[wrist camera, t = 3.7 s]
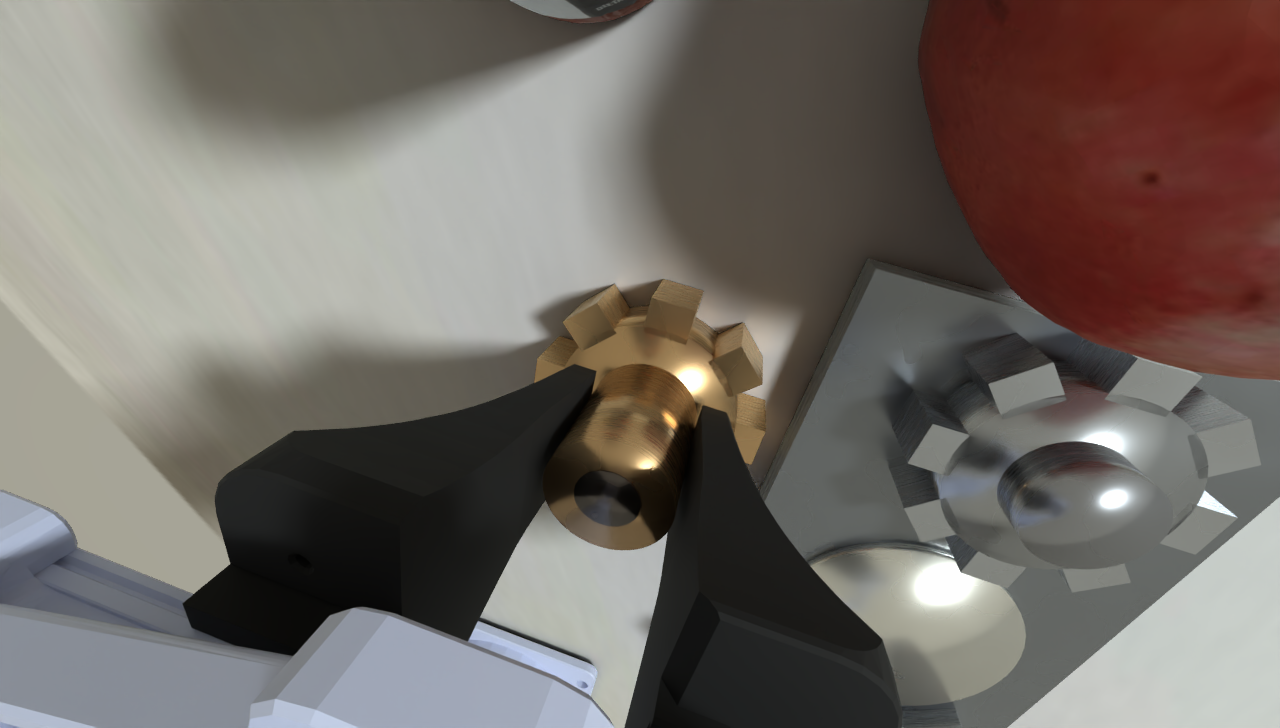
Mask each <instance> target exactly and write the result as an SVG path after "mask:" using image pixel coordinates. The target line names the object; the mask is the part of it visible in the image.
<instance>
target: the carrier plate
mask: <svg viewBox="0 0 1280 728" xmlns="http://www.w3.org/2000/svg"><path fill="white" fill-rule="evenodd" d="M1015 333H1018V334H1019V335H1020V336H1022V337H1023V338H1024V339H1025V340H1027V341H1028V342H1029V343H1030V344H1032V345H1033V346H1034V347H1035V348H1037V349H1038V350H1039V351H1040V352H1041V353H1043V354H1044V355H1045V356H1046V357H1048V358H1049V359H1050V360H1066V358H1067V357H1068V356H1069V354H1070V353H1071V352H1072V350H1073V349H1074V348H1075V346H1076V345H1077V344H1078V342H1079V341H1080V340H1081V338H1082V337H1080V336H1079V335H1077V334H1075V333H1074V332H1072V331H1070V330H1068V329H1066V328H1064V327H1062V326H1060V325H1058V324H1055V323H1054V322H1052V321H1051V320H1049V319H1048V318H1046V317H1045V316H1044V315H1042V314H1041V313H1039V312H1038V311H1036V310H1035V309H1034V308H1032V307H1031V306H1029V305H1028V304H1027V303H1026V302H1024V301H1020V300H1017V299H1013V298H1009V297H1006V296H1002V295H999V294H995V293H991V292H988V291H984V290H981V289H977V288H973V287H970V286H966V285H963V284H959V283H955V282H952V281H948V280H945V279H941V278H938V277H934V276H930V275H927V274H923V273H920V272H916V271H912V270H909V269H905V268H902V267H898V266H894V265H891V264H887V263H884V262H880V261H876V260H873V259H869V258H867V260H866V262H865V264H864V266H863V269H862V271H861V273H860V275H859V277H858V279H857V281H856V284H855V286H854V288H853V290H852V292H851V294H850V297H849V299H848V301H847V303H846V305H845V307H844V310H843V312H842V314H841V316H840V318H839V320H838V322H837V325H836V327H835V329H834V331H833V333H832V335H831V338H830V340H829V342H828V344H827V346H826V348H825V350H824V353H823V355H822V357H821V359H820V361H819V363H818V366H817V368H816V370H815V372H814V374H813V376H812V378H811V381H810V383H809V385H808V387H807V389H806V391H805V394H804V396H803V398H802V400H801V402H800V404H799V406H798V409H797V411H796V413H795V415H794V417H793V419H792V422H791V424H790V426H789V428H788V430H787V432H786V434H785V437H784V439H783V441H782V443H781V445H780V447H779V450H778V452H777V454H776V456H775V458H774V460H773V462H772V465H771V467H770V469H769V471H768V473H767V475H766V478H765V480H764V482H763V484H762V486H761V488H760V490H759V493H760V495H761V497H762V499H763V501H764V503H765V504H766V506H767V508H768V509H769V511H770V512H771V514H772V515H773V517H774V519H775V520H776V522H777V523H778V525H779V526H780V528H781V529H782V530H783V532H784V533H785V535H786V536H787V537H788V539H789V540H790V541H791V543H792V544H793V545H794V546H795V548H796V549H797V550H798V552H799V553H800V554H801V555H802V557H803V558H804V559H805V560H806V562H807V563H808V564H809V565H810V566H811V567H812V569H813V570H814V571H815V572H816V573H817V574H818V576H819V577H820V578H821V579H822V580H823V581H824V582H825V583H826V584H827V585H828V586H829V587H830V589H831V590H832V591H833V592H834V593H835V594H836V595H837V596H838V597H839V598H840V599H841V600H842V601H843V602H844V603H845V604H846V605H847V606H848V607H849V608H850V609H851V610H852V611H853V612H854V613H856V614H857V615H858V616H859V617H860V618H861V619H862V620H863V621H864V622H865V623H866V624H867V625H868V626H869V627H870V628H871V629H872V630H873V631H875V632H876V633H877V634H878V635H879V636H880V637H881V638H882V640H883V642H884V646H885V649H886V652H887V655H888V658H889V661H890V664H891V666H892V670H893V674H894V677H895V681H896V685H897V689H898V694H899V698H900V702H901V706H902V710H921V709H944V708H955V710H956V712H957V715H958V717H959V720H960V722H961V725H962V728H1007V727H1008V726H1009V725H1011V724H1012V723H1013V722H1014V721H1015V720H1017V719H1018V718H1019V717H1020V716H1021V715H1022V714H1024V713H1025V712H1026V711H1027V710H1028V709H1030V708H1031V707H1032V706H1033V705H1034V704H1035V703H1037V702H1038V701H1039V700H1040V699H1041V698H1043V697H1044V696H1045V695H1046V694H1047V693H1048V692H1050V691H1051V690H1052V689H1053V688H1054V687H1056V686H1057V685H1058V684H1059V683H1060V682H1061V681H1063V680H1064V679H1065V678H1066V677H1067V676H1069V675H1070V674H1071V673H1072V672H1073V671H1074V670H1076V669H1077V668H1078V667H1079V666H1080V665H1081V664H1083V663H1084V662H1085V661H1086V660H1087V659H1089V658H1090V657H1091V656H1092V655H1093V654H1094V653H1096V652H1097V651H1098V650H1099V649H1100V648H1102V647H1103V646H1104V645H1105V644H1106V643H1107V642H1109V641H1110V640H1111V639H1112V638H1113V637H1115V636H1116V635H1117V634H1118V633H1119V632H1120V631H1122V630H1123V629H1124V628H1125V627H1126V626H1128V625H1129V624H1130V623H1131V622H1132V621H1133V620H1135V619H1136V618H1137V617H1138V616H1139V615H1140V614H1142V613H1143V612H1144V611H1145V610H1146V609H1148V608H1149V607H1150V606H1151V605H1152V604H1153V603H1155V602H1156V601H1157V600H1158V599H1159V598H1161V597H1162V596H1163V595H1164V594H1165V593H1166V592H1168V591H1169V590H1170V589H1171V588H1172V587H1174V586H1175V585H1176V584H1177V583H1178V582H1179V581H1181V580H1182V579H1183V578H1184V577H1185V576H1187V575H1188V574H1189V573H1190V572H1191V571H1192V570H1194V569H1195V568H1196V567H1197V566H1198V565H1200V564H1201V563H1202V562H1203V561H1204V560H1205V559H1207V558H1208V557H1209V556H1210V555H1211V554H1212V553H1214V552H1215V551H1216V550H1217V549H1218V548H1220V547H1221V546H1222V545H1223V544H1224V543H1225V542H1227V541H1228V540H1229V539H1230V538H1231V537H1233V536H1234V535H1235V534H1236V533H1237V532H1238V531H1240V530H1241V529H1242V528H1243V527H1244V526H1246V525H1247V524H1248V523H1249V522H1250V521H1251V520H1253V519H1254V518H1255V517H1256V516H1257V515H1259V514H1260V513H1261V512H1262V511H1263V510H1264V509H1266V508H1267V507H1268V506H1269V505H1270V504H1271V503H1273V502H1274V501H1275V500H1276V499H1277V498H1279V497H1280V380H1265V379H1247V378H1236V377H1229V376H1222V375H1215V374H1207V373H1200V372H1195V373H1196V374H1198V375H1200V376H1202V378H1201V379H1200V380H1199V381H1198V382H1197V383H1196V385H1195V386H1196V387H1198V388H1199V389H1201V390H1203V391H1204V392H1206V393H1208V394H1209V395H1211V396H1213V397H1214V398H1216V399H1218V400H1219V401H1221V402H1223V403H1224V404H1226V405H1228V406H1230V407H1231V408H1233V409H1235V410H1236V411H1238V412H1240V413H1241V414H1243V415H1245V416H1246V417H1248V418H1250V419H1251V422H1252V427H1253V431H1254V435H1255V440H1256V444H1257V449H1258V453H1259V458H1260V462H1261V465H1260V466H1255V467H1251V468H1246V469H1242V470H1238V471H1233V472H1229V473H1224V474H1220V475H1216V476H1211V477H1208V479H1207V483H1206V487H1205V491H1206V492H1207V493H1208V494H1210V495H1211V496H1212V497H1213V498H1214V499H1216V500H1217V501H1218V502H1219V503H1221V504H1222V505H1223V506H1224V507H1225V508H1227V509H1228V510H1229V511H1230V512H1231V513H1233V514H1234V515H1235V516H1236V517H1238V518H1237V519H1236V520H1235V521H1234V522H1233V523H1232V524H1230V525H1229V526H1228V527H1227V528H1226V529H1225V530H1223V531H1222V532H1221V533H1220V534H1219V535H1218V536H1217V537H1215V538H1214V539H1213V540H1212V541H1211V542H1210V543H1208V544H1207V545H1206V546H1205V547H1204V548H1203V549H1202V550H1200V551H1199V552H1198V553H1197V554H1196V555H1195V554H1192V553H1188V552H1185V551H1182V550H1179V549H1176V548H1173V547H1169V546H1166V545H1163V544H1160V543H1159V544H1158V545H1157V546H1156V547H1155V548H1153V549H1152V550H1151V551H1149V552H1148V553H1146V554H1145V555H1143V556H1141V557H1139V558H1137V559H1134V560H1132V561H1129V562H1127V563H1124V564H1125V567H1126V570H1127V573H1128V575H1129V578H1130V581H1131V583H1126V584H1120V585H1114V586H1108V587H1102V588H1096V589H1090V590H1084V591H1079V592H1073V593H1072V592H1071V590H1070V589H1069V587H1068V586H1067V584H1066V583H1065V581H1064V580H1063V578H1062V577H1061V575H1060V574H1059V572H1058V571H1057V569H1037V568H1028V567H1027V568H1026V569H1025V570H1024V571H1023V572H1022V573H1021V574H1020V575H1019V576H1018V577H1017V578H1016V580H1015V581H1014V582H1013V583H1012V584H1011V585H1010V586H1009V587H1008V588H1005V587H1002V586H999V585H996V584H993V583H990V582H987V581H984V580H981V579H978V578H975V577H972V576H969V575H966V574H963V573H960V570H959V568H958V566H957V564H956V561H955V559H954V557H953V555H952V552H951V550H950V548H949V546H948V543H947V541H946V539H945V537H943V538H939V539H934V540H930V541H925V542H921V541H920V539H919V537H918V535H917V533H916V531H915V529H914V527H913V525H912V523H911V521H910V519H909V517H908V515H907V513H906V511H905V509H904V507H903V504H902V502H901V499H900V496H899V493H898V491H897V488H896V485H895V483H894V480H893V477H892V475H891V472H890V469H889V468H893V467H896V466H899V465H903V464H906V463H907V461H906V459H905V456H904V454H903V452H902V449H901V447H900V445H899V442H898V440H897V438H896V435H895V433H894V431H893V428H892V425H893V423H894V422H895V420H896V418H897V417H898V415H899V413H900V412H901V410H902V408H903V407H904V405H905V403H906V402H907V400H908V398H909V396H910V395H911V393H912V391H913V390H915V391H919V392H922V393H925V394H928V395H932V396H935V397H938V398H942V399H945V400H946V399H947V398H949V397H950V396H951V395H952V394H953V393H955V392H956V391H957V390H958V389H960V388H961V387H963V386H964V385H966V384H967V383H969V382H971V381H972V379H971V376H970V374H969V371H968V369H967V367H966V364H965V362H964V359H963V357H962V354H961V353H963V352H965V351H968V350H971V349H974V348H976V347H979V346H982V345H984V344H987V343H990V342H993V341H995V340H998V339H1001V338H1004V337H1006V336H1009V335H1012V334H1015ZM1193 372H1194V371H1193Z"/></svg>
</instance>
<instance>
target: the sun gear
mask: <svg viewBox="0 0 1280 728" xmlns="http://www.w3.org/2000/svg"><path fill="white" fill-rule="evenodd" d="M961 354H962V357H963V359H964V362H965V364H966V367H967V369H968V371H969V374H970V376H971V379H972V381H971V382H969V383H967V384H966V385H964V386H963V387H961V388H960V389H958V390H957V391H956V392H955V393H953V394H952V395H951V396H950V397H949V398H947V399H946V400H945V399H942V398H938V397H935V396H932V395H928V394H925V393H922V392H919V391H915V390H913V391H912V393H911V395H910V396H909V398H908V400H907V402H906V403H905V405H904V407H903V408H902V410H901V412H900V413H899V415H898V417H897V418H896V420H895V422H894V423H893V425H892V428H893V431H894V433H895V435H896V438H897V440H898V442H899V445H900V447H901V449H902V452H903V454H904V456H905V459H906V461H907V463H906V464H903V465H899V466H896V467H893V468H889V469H890V472H891V475H892V477H893V480H894V483H895V485H896V488H897V491H898V493H899V496H900V499H901V502H902V504H903V507H904V509H905V511H906V513H907V515H908V517H909V519H910V521H911V523H912V525H913V527H914V529H915V531H916V533H917V535H918V537H919V539H920V541H921V542H925V541H930V540H934V539H939V538H943V537H945V539H946V541H947V543H948V546H949V548H950V550H951V552H952V555H953V557H954V559H955V561H956V564H957V566H958V568H959V570H960V573H963V574H966V575H969V576H972V577H975V578H978V579H981V580H984V581H987V582H990V583H993V584H996V585H999V586H1002V587H1005V588H1008V587H1009V586H1010V585H1011V584H1012V583H1013V582H1014V581H1015V580H1016V578H1017V577H1018V576H1019V575H1020V574H1021V573H1022V572H1023V571H1024V570H1025V569H1026V568H1027V567H1028V568H1037V569H1057V571H1058V572H1059V574H1060V575H1061V577H1062V578H1063V580H1064V581H1065V583H1066V584H1067V586H1068V587H1069V589H1070V590H1071V592H1072V593H1073V592H1079V591H1084V590H1090V589H1096V588H1102V587H1108V586H1114V585H1120V584H1126V583H1131V581H1130V578H1129V575H1128V573H1127V570H1126V567H1125V564H1124V563H1127V562H1129V561H1132V560H1134V559H1137V558H1139V557H1141V556H1143V555H1145V554H1146V553H1148V552H1149V551H1151V550H1152V549H1153V548H1155V547H1156V546H1157V545H1158V544H1159V543H1160V544H1163V545H1166V546H1169V547H1173V548H1176V549H1179V550H1182V551H1185V552H1188V553H1192V554H1195V555H1196V554H1197V553H1198V552H1199V551H1200V550H1202V549H1203V548H1204V547H1205V546H1206V545H1207V544H1208V543H1210V542H1211V541H1212V540H1213V539H1214V538H1215V537H1217V536H1218V535H1219V534H1220V533H1221V532H1222V531H1223V530H1225V529H1226V528H1227V527H1228V526H1229V525H1230V524H1232V523H1233V522H1234V521H1235V520H1236V519H1237V518H1238V517H1236V516H1235V515H1234V514H1233V513H1231V512H1230V511H1229V510H1228V509H1227V508H1225V507H1224V506H1223V505H1222V504H1221V503H1219V502H1218V501H1217V500H1216V499H1214V498H1213V497H1212V496H1211V495H1210V494H1208V493H1207V492H1206V491H1205V487H1206V483H1207V479H1208V477H1211V476H1216V475H1220V474H1224V473H1229V472H1233V471H1238V470H1242V469H1246V468H1251V467H1255V466H1260V465H1261V462H1260V458H1259V453H1258V449H1257V444H1256V440H1255V435H1254V431H1253V427H1252V422H1251V419H1250V418H1248V417H1246V416H1245V415H1243V414H1241V413H1240V412H1238V411H1236V410H1235V409H1233V408H1231V407H1230V406H1228V405H1226V404H1224V403H1223V402H1221V401H1219V400H1218V399H1216V398H1214V397H1213V396H1211V395H1209V394H1208V393H1206V392H1204V391H1203V390H1201V389H1199V388H1198V387H1196V386H1195V385H1196V383H1197V382H1198V381H1199V380H1200V379H1201V378H1202V376H1200V375H1198V374H1196V373H1195V372H1193V371H1189V370H1185V369H1181V368H1177V367H1173V366H1169V365H1166V364H1162V363H1158V362H1154V361H1151V360H1148V359H1144V358H1141V357H1138V356H1135V355H1132V354H1128V353H1125V352H1122V351H1118V350H1115V349H1111V348H1108V347H1105V346H1101V345H1098V344H1096V343H1093V342H1091V341H1089V340H1086V339H1084V338H1081V340H1080V341H1079V342H1078V344H1077V345H1076V346H1075V348H1074V349H1073V350H1072V352H1071V353H1070V354H1069V356H1068V357H1067V358H1066V360H1050V359H1049V358H1048V357H1046V356H1045V355H1044V354H1043V353H1041V352H1040V351H1039V350H1038V349H1037V348H1035V347H1034V346H1033V345H1032V344H1030V343H1029V342H1028V341H1027V340H1025V339H1024V338H1023V337H1022V336H1020V335H1019V334H1018V333H1015V334H1012V335H1009V336H1006V337H1004V338H1001V339H998V340H995V341H993V342H990V343H987V344H984V345H982V346H979V347H976V348H974V349H971V350H968V351H965V352H963V353H961Z"/></svg>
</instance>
